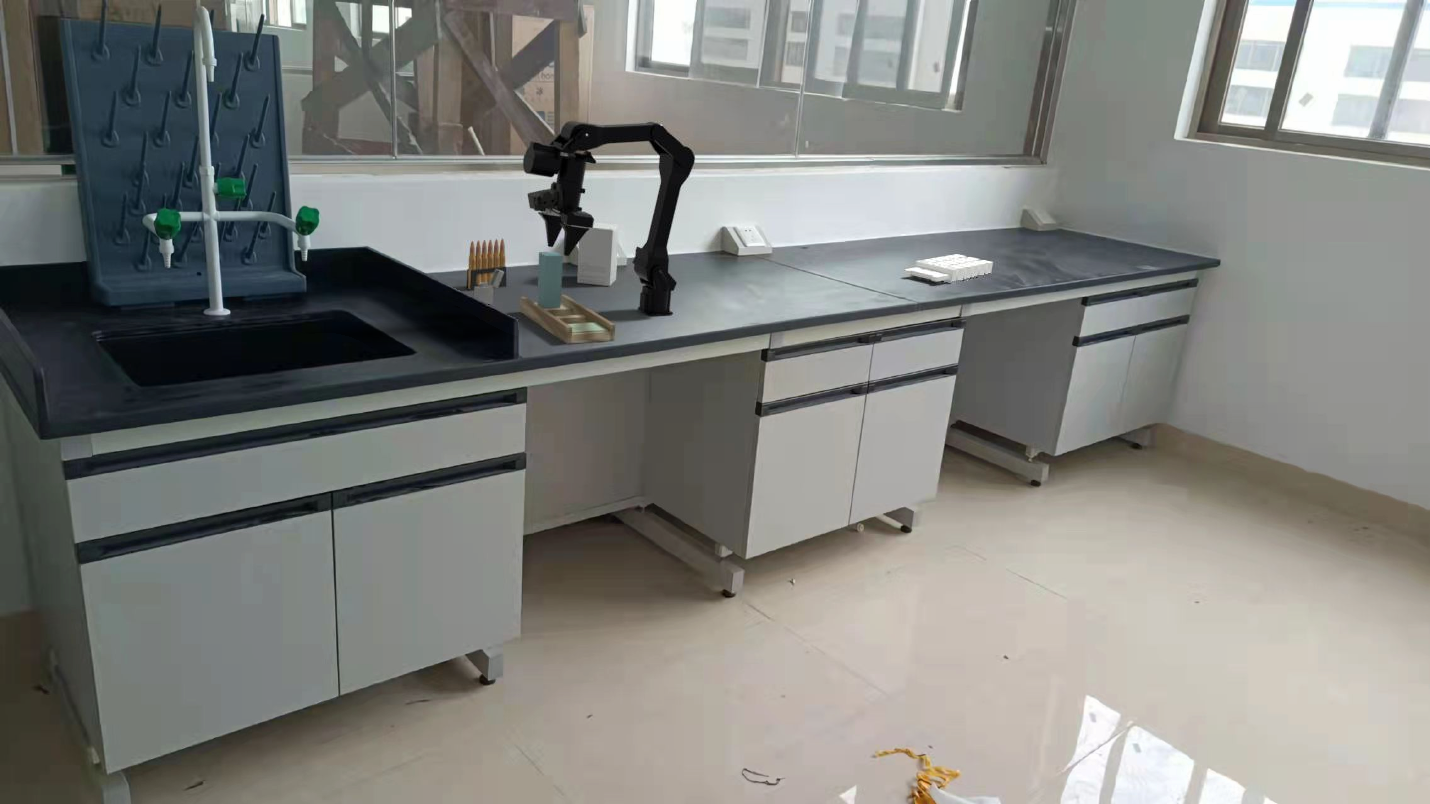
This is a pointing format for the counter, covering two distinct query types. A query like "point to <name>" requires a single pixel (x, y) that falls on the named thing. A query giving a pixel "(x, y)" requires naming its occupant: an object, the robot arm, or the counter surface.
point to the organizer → (950, 268)
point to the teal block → (549, 280)
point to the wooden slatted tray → (570, 321)
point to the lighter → (488, 287)
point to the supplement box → (598, 255)
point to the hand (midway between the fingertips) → (558, 251)
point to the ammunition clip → (485, 264)
